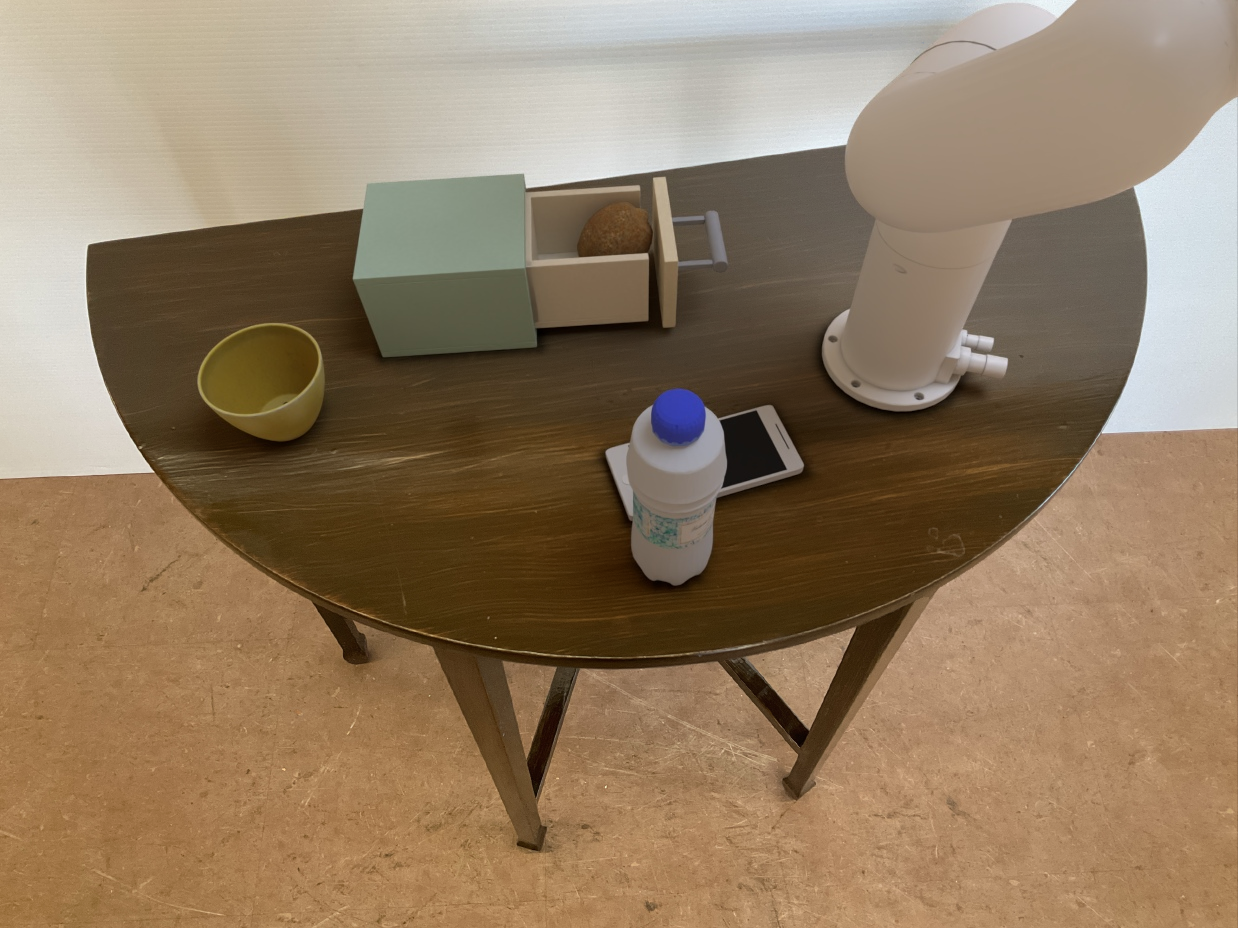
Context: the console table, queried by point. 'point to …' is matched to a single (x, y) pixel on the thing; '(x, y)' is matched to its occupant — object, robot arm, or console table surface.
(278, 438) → the flower pot
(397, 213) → the cabinet
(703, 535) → the bottle
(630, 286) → the drawer
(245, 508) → the console table surface
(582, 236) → the fruit
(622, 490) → the smartphone
